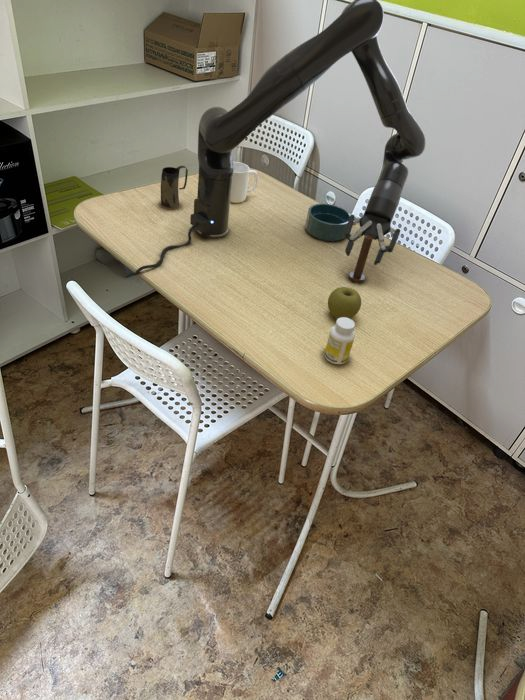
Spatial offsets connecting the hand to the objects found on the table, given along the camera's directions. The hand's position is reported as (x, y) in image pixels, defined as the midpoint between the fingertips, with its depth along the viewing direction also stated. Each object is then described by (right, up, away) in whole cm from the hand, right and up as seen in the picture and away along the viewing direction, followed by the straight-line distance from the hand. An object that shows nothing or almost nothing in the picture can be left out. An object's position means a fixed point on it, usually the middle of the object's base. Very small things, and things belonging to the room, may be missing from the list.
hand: (361, 259), depth 137 cm
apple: (-7, -15, -8) cm, 19 cm away
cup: (-34, +26, +34) cm, 54 cm away
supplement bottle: (-10, -25, -20) cm, 34 cm away
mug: (-54, +21, +24) cm, 62 cm away
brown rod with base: (0, -4, +6) cm, 7 cm away
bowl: (-7, +13, +24) cm, 28 cm away
